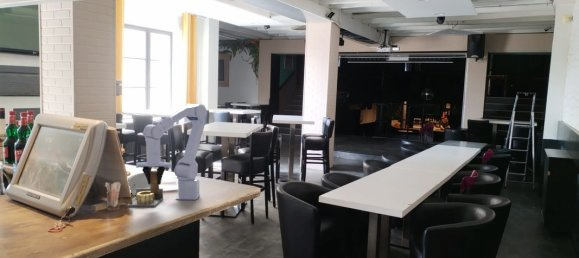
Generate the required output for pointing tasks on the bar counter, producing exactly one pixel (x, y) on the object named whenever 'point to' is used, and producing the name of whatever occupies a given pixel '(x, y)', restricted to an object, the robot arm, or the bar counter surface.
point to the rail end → (154, 182)
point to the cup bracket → (147, 198)
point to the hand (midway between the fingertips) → (154, 183)
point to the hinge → (138, 182)
